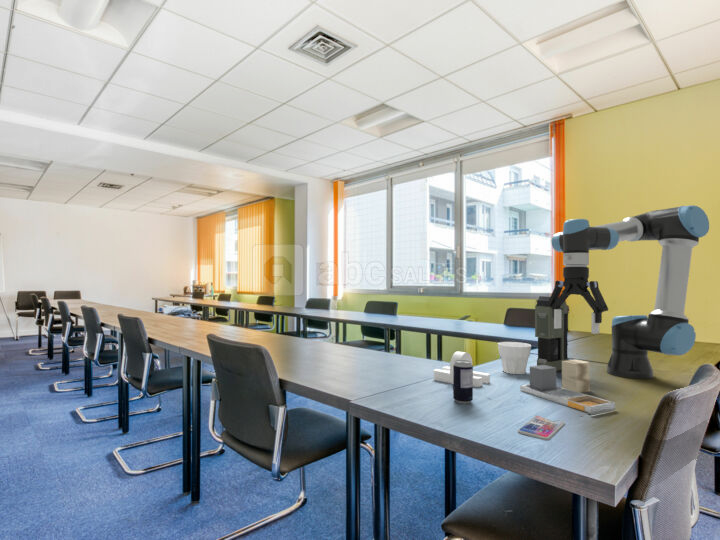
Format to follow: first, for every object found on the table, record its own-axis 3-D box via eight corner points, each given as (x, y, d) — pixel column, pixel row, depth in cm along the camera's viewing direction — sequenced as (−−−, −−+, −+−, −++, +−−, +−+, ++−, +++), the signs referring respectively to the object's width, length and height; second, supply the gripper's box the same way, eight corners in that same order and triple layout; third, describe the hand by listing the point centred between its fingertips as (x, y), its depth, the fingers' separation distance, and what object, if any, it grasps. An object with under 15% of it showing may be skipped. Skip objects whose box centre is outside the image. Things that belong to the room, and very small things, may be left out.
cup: (492, 368, 166) (492, 341, 166) (521, 368, 167) (521, 341, 168) (506, 376, 154) (506, 347, 154) (537, 375, 155) (537, 346, 155)
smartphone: (566, 421, 104) (548, 438, 93) (566, 425, 104) (548, 443, 93) (536, 414, 109) (515, 430, 98) (536, 418, 109) (515, 434, 98)
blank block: (544, 389, 134) (544, 364, 134) (556, 392, 130) (556, 367, 130) (529, 391, 131) (529, 366, 131) (541, 395, 127) (541, 369, 127)
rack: (543, 388, 137) (543, 382, 137) (614, 410, 115) (614, 402, 115) (519, 392, 132) (519, 385, 132) (589, 415, 110) (589, 407, 110)
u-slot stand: (446, 375, 155) (446, 347, 155) (490, 384, 143) (491, 353, 143) (432, 380, 148) (432, 350, 148) (478, 389, 136) (478, 357, 136)
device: (550, 375, 155) (550, 297, 156) (532, 371, 162) (532, 296, 162) (570, 370, 163) (570, 296, 164) (552, 367, 170) (552, 295, 170)
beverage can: (473, 399, 124) (473, 360, 124) (472, 405, 118) (472, 364, 118) (454, 397, 125) (454, 359, 126) (452, 403, 120) (452, 362, 120)
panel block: (576, 389, 137) (576, 359, 137) (590, 392, 132) (589, 362, 132) (561, 391, 134) (561, 361, 134) (575, 395, 129) (575, 364, 129)
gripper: (536, 266, 143) (536, 326, 143) (605, 265, 121) (605, 336, 120) (551, 267, 147) (551, 325, 146) (621, 265, 124) (621, 335, 124)
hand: (575, 330), depth 133 cm, fingers open, 13 cm apart
